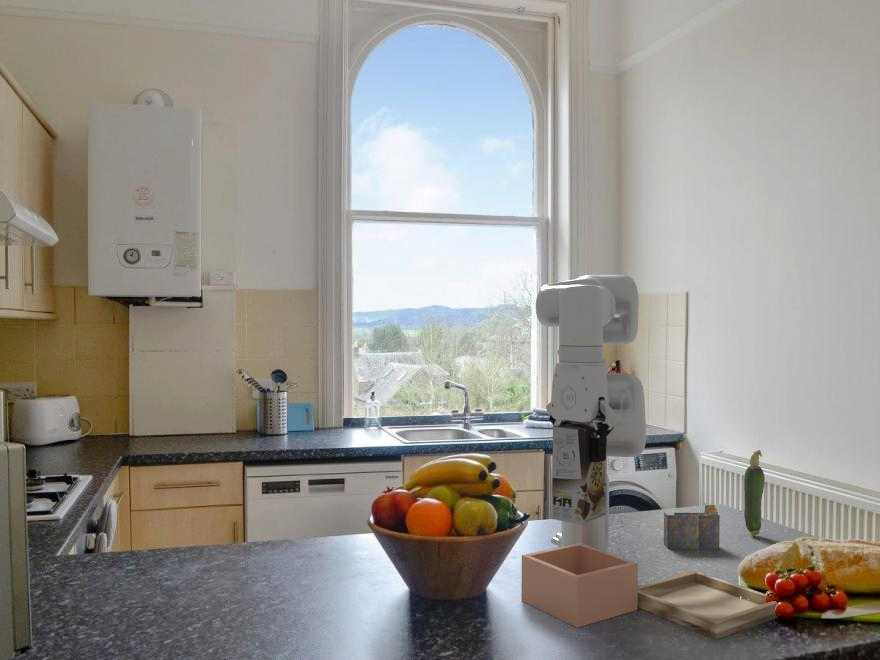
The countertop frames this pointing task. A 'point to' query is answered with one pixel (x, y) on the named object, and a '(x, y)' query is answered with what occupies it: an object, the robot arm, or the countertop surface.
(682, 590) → the tray
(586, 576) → the square storage bin
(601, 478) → the coffee box
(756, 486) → the vegetable
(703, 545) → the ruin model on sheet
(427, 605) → the countertop surface
